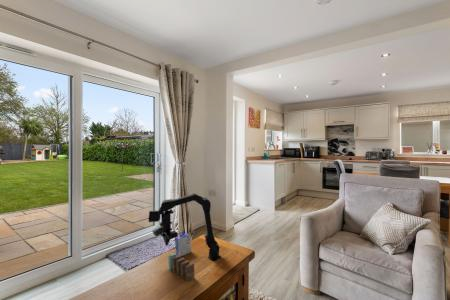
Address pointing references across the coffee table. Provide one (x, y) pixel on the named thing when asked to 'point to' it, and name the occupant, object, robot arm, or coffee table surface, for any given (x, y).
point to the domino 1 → (171, 260)
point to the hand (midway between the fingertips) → (166, 245)
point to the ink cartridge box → (182, 244)
